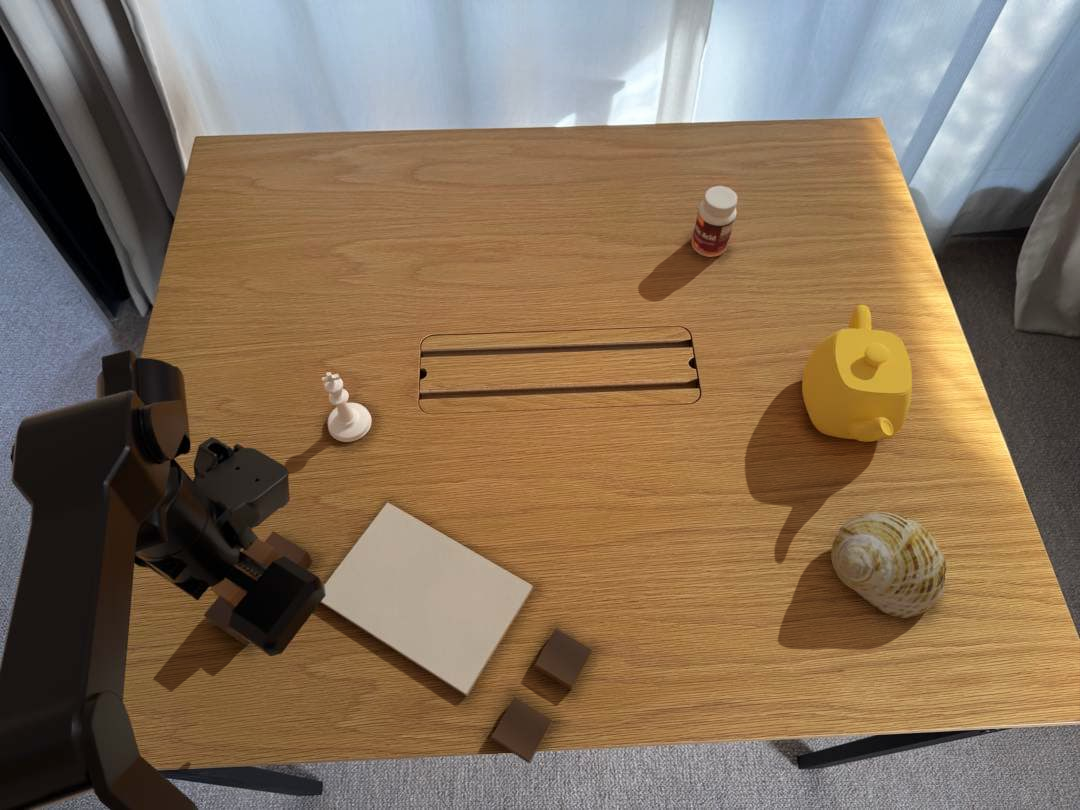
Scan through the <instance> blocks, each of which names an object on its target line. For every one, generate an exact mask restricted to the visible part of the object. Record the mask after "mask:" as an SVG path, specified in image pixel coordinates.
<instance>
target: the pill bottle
mask: <svg viewBox="0 0 1080 810" xmlns="http://www.w3.org/2000/svg"><path fill="white" fill-rule="evenodd" d="M702 200H703V201H702V202H701V203H700V205H699V207H698V211H697V215H696V219H695V224H694V229H693V233H692V237H691V246H692V248H693V250H694V251H695V252H696V253H697V254H699V255H700V256H703V257H707V258H714V257H718V256H721V255H723V254H724V253H725V252H726V251H727V248H728V245H729V242H730V238H731V235H732V232H733V228H734V226H735V221H736V218H737V214H738V213H737V203H738V194H737V193H736V192H735V191H734V190H733V189H732V188H730V187H727V186H725V185H724V186H723V185H716V186H712V187H710V188H708V189H707V190H706V191H705V194H704V197H703V199H702Z"/></svg>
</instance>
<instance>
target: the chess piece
mask: <svg viewBox="0 0 1080 810" xmlns="http://www.w3.org/2000/svg"><path fill="white" fill-rule="evenodd" d="M321 380H322V383H323V389H324V391H325V392H326V393H327V394H328V401H329V403H330V404H331V405H333V406H335V408H334V409H333V410H332V411H331V412H330V414H329V416H328V418H327V428H328V432H329V434H330V436H331V437H332V438H334V439H335V440H337V441H339V442H342V443H351V442H357V441H358V440H360V439H362V438H363V437H364V436H366V434H367V433H368V432H369V431H370V429H371V427H372V420H373V419H372V415H371V413H370V412H369V410H368V409H367V408H366V407H365V406H364V405H362V404H360V403H359V402H358V403H357V402H348V401H349V397H350V395H349V392H348V390H346V389H344V381H343V380H342V379H341V377H340V375H339V373H335V374H332V371H327V372H326V376H322V377H321Z"/></svg>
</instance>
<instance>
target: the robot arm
mask: <svg viewBox="0 0 1080 810" xmlns="http://www.w3.org/2000/svg"><path fill="white" fill-rule="evenodd" d="M185 383H186V382H185V376H184V374H183V372H182V370H181V369H180V368H179V366H176V365H175V366H174V365H172V364H171V363H168V362H166V361H165V360H164V361H163V360H161V359H155V358H147V357H138V356H137V355H136V354H135V352H134V351H133V350H132V349H127V350H124V351H119V352H114V353H112V354H111V353H110V354H108V355H103V356H101V371H100V373H99V374H98V375H97V377H96V381H95V398H93V399H89V400H86V401H82V402H78V403H75V404H71V405H67V406H64V407H59V408H56V409H51V410H48V411H44V412H41V413H37V414H32V415H30V416H27V417H25V418H24V419H22V420H21V422H20V424H19V425H18V427H17V430H16V433H15V438H14V443H13V445H12V447H11V452H10V455H9V458H10V461H11V464H12V465H11V483H12V484H13V485H14V487H15V488H16V489H17V491H18V492H19V493H20V494H21V496H22V497H23V498H24V499H25V500H26V501H27V503H28V504H29V505H30V507H31V509H30V522H29V529H28V533H27V538H26V543H25V548H24V551H23V557H22V562H21V566H20V569H19V570H20V571H19V576H18V578H17V579H18V580H17V584H16V589H15V593H14V597H13V603H12V607H11V611H10V616H9V621H8V625H7V631H6V635H5V640H4V644H3V649H2V653H1V660H0V810H43V809H46V808H49V807H52V806H55V805H57V804H61V803H63V802H67V801H69V800H72V799H75V798H77V797H80V796H84V795H87V794H89V793H93V792H94V794H95V796H96V797H97V799H98V800H99V802H100V803H101V804H102V805H104V806H105V807H106V808H107V809H108V810H200V809H199V808H198V806H197V804H196V803H195V802H194V801H193V800H192V799H191V798H190V797H188V795H186V794H185V793H184V792H183V791H181V790H180V788H179V787H177V786H176V785H175V784H174V783H172V782H171V781H170V780H169V779H168V778H167V777H166V776H164V775H163V774H162V773H161V772H160V771H159V770H158V769H157V768H156V767H154V766H153V765H152V764H151V763H150V762H149V761H147V760H146V759H145V758H144V757H143V756H142V754H141V752H140V750H139V746H138V743H137V740H136V736H135V733H134V729H133V725H132V722H131V717H130V716H129V713H128V710H127V708H126V706H125V703H124V692H125V679H126V670H127V657H128V643H129V632H130V621H131V620H130V619H131V608H132V597H133V586H134V585H133V584H134V573H135V572H134V571H135V565H136V566H138V567H140V568H144V569H145V568H146V569H150V570H151V571H152V572H153V573H156V574H157V575H158V576H160V577H161V578H162V579H164V580H166V581H167V582H169V583H170V584H172V585H173V586H174V587H176V588H177V589H178V590H181V591H182V592H184V593H185V594H186V595H188V596H189V597H191V598H193V599H194V600H195V601H199V600H200V599H201V598H202V596H203V595H204V594H205V593H206V591H207V590H208V589H209V588H212V587H213V586H215V585H217V584H218V583H220V582H221V581H223V580H224V579H225V580H227V581H228V582H230V583H231V584H233V585H234V586H236V587H238V588H239V589H241V590H242V591H244V592H245V593H247V594H246V595H245V596H244V597H243V598H242V600H241V601H240V602H239V603H238V605H237V606H236V607H235V608H234V609H233V611H232V613H231V617H230V620H229V624H228V626H229V627H230V628H231V629H232V630H233V631H235V632H236V633H238V634H239V635H240V636H242V637H243V638H244V639H246V640H247V641H249V644H252V645H253V646H255V647H256V648H258V649H259V650H260V651H262V652H264V653H265V654H266V655H268V656H269V657H274V656H277V655H281V654H283V652H284V651H285V650H286V648H287V647H288V646H289V645H290V643H291V642H292V641H293V640H294V638H295V636H296V635H297V634H298V633H299V631H300V630H301V629H302V627H303V626H304V625H305V623H307V621H308V620H309V619H310V617H311V616H312V614H313V613H314V611H316V609H317V608H318V606H319V605H320V604H321V603H320V602H321V601H322V600H323V598H324V597H325V596H326V593H325V583H323V581H322V580H321V578H320V577H319V576H317V575H316V574H315V573H312V572H311V571H309V570H308V569H307V570H306V569H305V568H303V567H301V566H300V565H298V564H297V563H295V562H293V561H292V560H290V559H289V558H287V557H285V556H283V557H281V558H279V559H277V560H275V561H273V562H272V563H271V564H270V565H269V567H268V568H267V567H265V566H264V565H262V564H260V563H259V562H257V561H256V560H254V559H252V558H251V557H249V556H248V555H246V554H245V553H243V552H242V550H243V549H244V550H248V549H249V548H250V547H251V546H252V544H253V543H254V542H255V541H256V540H257V538H258V539H259V537H258V535H257V534H256V533H255V532H254V531H253V529H254V528H256V527H258V526H259V525H261V524H262V523H264V521H265V520H267V519H268V518H270V517H271V516H272V515H273V514H275V512H277V511H278V510H279V509H282V508H284V507H285V506H287V505H288V503H289V502H290V484H289V483H290V482H289V470H288V468H287V466H286V465H284V464H282V463H281V462H279V461H277V460H275V459H274V458H272V457H270V456H268V455H267V454H265V453H263V452H262V451H259V450H258V449H257V448H254V447H244V446H242V445H241V444H239V443H236V444H234V445H233V449H232V448H231V447H230V446H229V445H228V444H225V443H224V442H222V441H221V440H219V439H217V438H216V437H214V436H212V437H209V438H207V439H206V440H205V441H203V442H201V443H200V444H199V445H198V447H197V450H196V454H195V458H194V461H193V466H192V467H193V472H194V477H193V479H192V478H191V476H190V475H189V474H188V473H187V472H186V471H185V470H184V468H183V467H182V466H181V465H180V463H179V462H178V461H177V460H175V459H176V458H178V457H180V456H182V455H188V454H189V453H190V451H191V446H192V445H191V443H192V442H191V435H190V434H191V433H190V424H189V423H190V422H189V413H188V405H187V395H186V394H187V393H186V384H185ZM236 564H237V566H238V567H241V568H242V569H243V570H244V569H245V571H246V572H248V571H249V574H253V576H254V577H256V576H257V579H258V580H257V581H256V580H255V579H253V578H252V577H250V576H249V575H247V574H246V573H244V572H242V571H241V570H239V569H238V568H236V567H235V566H236Z"/></svg>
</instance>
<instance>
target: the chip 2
mask: <svg viewBox="0 0 1080 810" xmlns="http://www.w3.org/2000/svg"><path fill="white" fill-rule="evenodd" d="M592 653H593V648H591V647H589V646H588V645H586V644H584V643H583V642H581V641H579V640H578V639H576V638H574V637H572V636H571V635H569V634H567V633H566V632H564V631H562V630H560V629H559V628H556V627H555V628H554V630H553V632H552V634H551V635H550V638H549V639H548V641H547V643H546V644H545V645H544V647H543V649H542V651H541V653H540V655H539V656H538V658H537V660H536V661H535V664H534V669H535V670H536V671H538V672H540V673H542V674H544V675H545V676H547V677H548V678H550V679H552V680H553V681H555V682H557V683H558V684H560V685H562V687H565V688H566V689H568V690H569V691H572V690H573V689H574V687H575V685H576V683H577V682H578V680H579V677H580V676H581V674H582V672H583V671H584V668H585V666H586V664H587V663H588V661H589V659H590V658H591V656H592Z"/></svg>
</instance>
